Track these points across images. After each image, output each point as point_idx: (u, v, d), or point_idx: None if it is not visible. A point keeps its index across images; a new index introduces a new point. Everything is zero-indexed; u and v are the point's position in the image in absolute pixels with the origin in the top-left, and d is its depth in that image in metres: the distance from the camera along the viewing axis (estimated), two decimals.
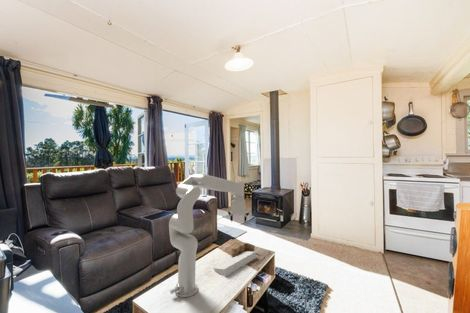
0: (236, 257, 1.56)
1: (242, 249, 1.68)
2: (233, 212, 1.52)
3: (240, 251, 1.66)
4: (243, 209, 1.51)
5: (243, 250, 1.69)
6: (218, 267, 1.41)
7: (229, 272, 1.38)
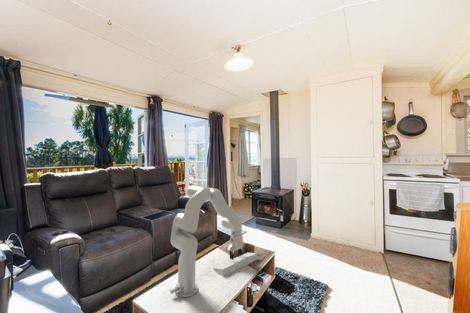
0: (237, 258, 1.55)
1: (242, 249, 1.68)
2: (235, 249, 1.49)
3: None
4: (242, 242, 1.54)
5: (243, 250, 1.69)
6: (217, 267, 1.42)
7: (228, 272, 1.38)
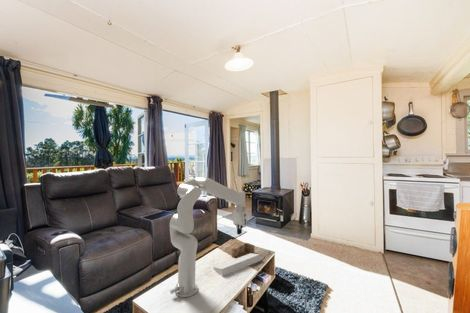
0: (239, 258, 1.54)
1: (242, 249, 1.68)
2: None
3: (240, 251, 1.66)
4: None
5: (243, 250, 1.69)
6: (217, 266, 1.42)
7: (227, 272, 1.38)
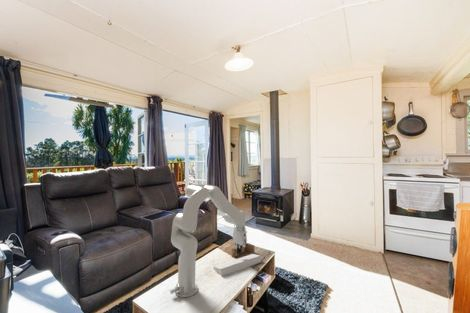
0: (239, 259, 1.54)
1: (242, 249, 1.68)
2: None
3: None
4: None
5: (243, 250, 1.69)
6: (217, 266, 1.43)
7: (226, 272, 1.38)
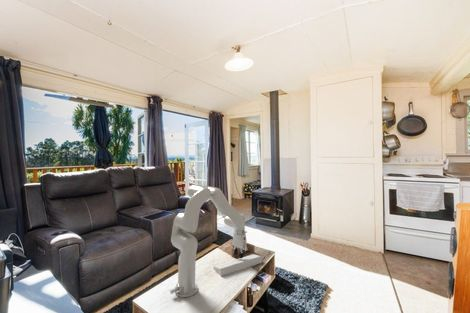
0: (240, 259, 1.53)
1: (242, 249, 1.68)
2: None
3: (240, 251, 1.66)
4: None
5: None
6: (217, 266, 1.43)
7: (226, 272, 1.37)
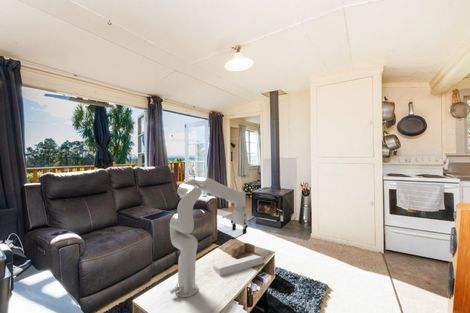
0: (240, 259, 1.53)
1: (242, 249, 1.68)
2: None
3: (240, 251, 1.66)
4: None
5: (243, 250, 1.69)
6: (217, 265, 1.43)
7: (225, 272, 1.38)
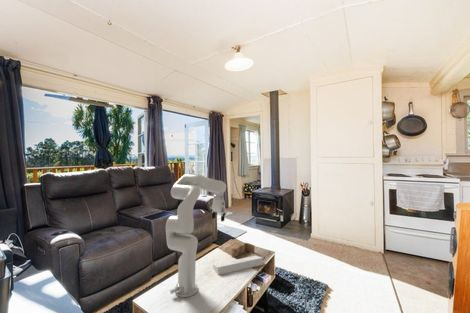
0: (241, 259, 1.52)
1: (242, 249, 1.68)
2: None
3: (240, 251, 1.66)
4: None
5: (243, 250, 1.69)
6: (216, 264, 1.44)
7: (224, 271, 1.38)
